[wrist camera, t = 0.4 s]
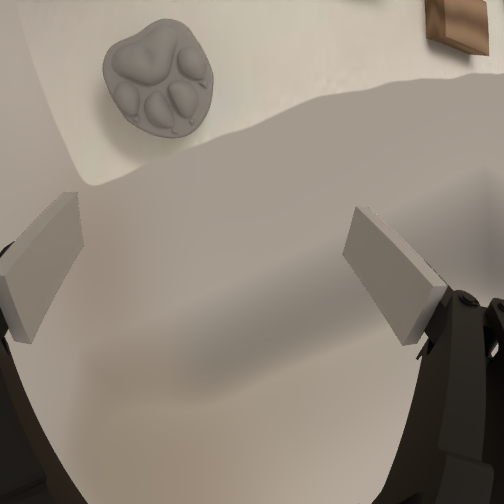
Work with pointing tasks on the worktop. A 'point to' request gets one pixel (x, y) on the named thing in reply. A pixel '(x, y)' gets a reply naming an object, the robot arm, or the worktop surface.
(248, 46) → the worktop surface
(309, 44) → the worktop surface
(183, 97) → the lumpy-topped squat cylinder
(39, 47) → the worktop surface
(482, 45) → the walnut block
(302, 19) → the worktop surface
